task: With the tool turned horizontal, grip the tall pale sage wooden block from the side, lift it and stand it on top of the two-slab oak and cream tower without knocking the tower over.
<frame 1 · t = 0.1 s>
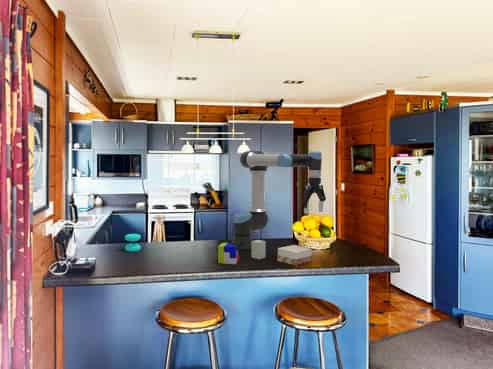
hand: (313, 212, 246), 28 cm above the countertop, tool pointing down, fingers open, 13 cm apart
teal spool: (133, 250, 266), on the countertop
tower top: (294, 255, 241), point 4 cm above the countertop, touching tower base
puzzle toy: (228, 262, 239), on the countertop
tower base: (294, 262, 242), on the countertop, touching tower top
sage block: (258, 257, 250), on the countertop
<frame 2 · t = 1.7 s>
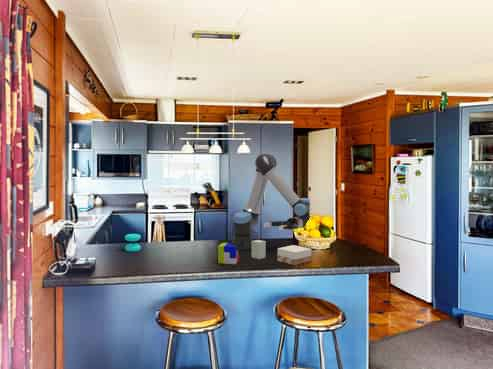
hand: (271, 226, 256), 18 cm above the countertop, tool horizontal, fingers open, 13 cm apart
nothing on the countertop moved.
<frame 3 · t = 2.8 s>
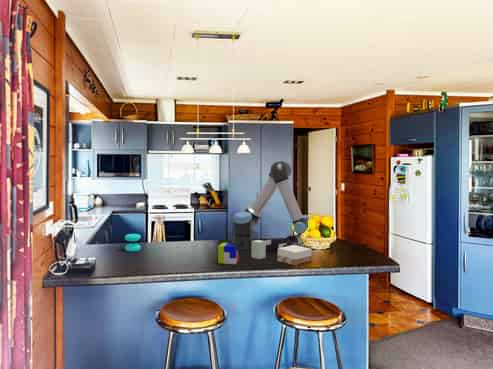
hand: (271, 245, 257), 6 cm above the countertop, tool horizontal, fingers open, 13 cm apart
nothing on the countertop moved.
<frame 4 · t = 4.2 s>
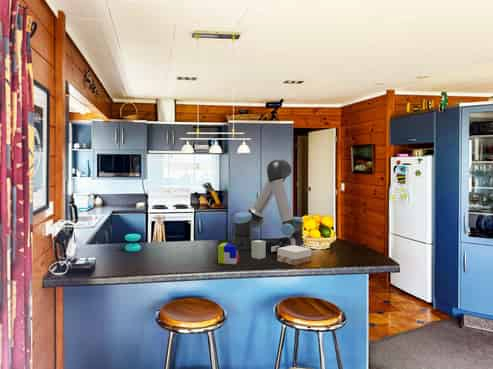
hand: (263, 247, 251), 6 cm above the countertop, tool horizontal, fingers open, 13 cm apart
nothing on the countertop moved.
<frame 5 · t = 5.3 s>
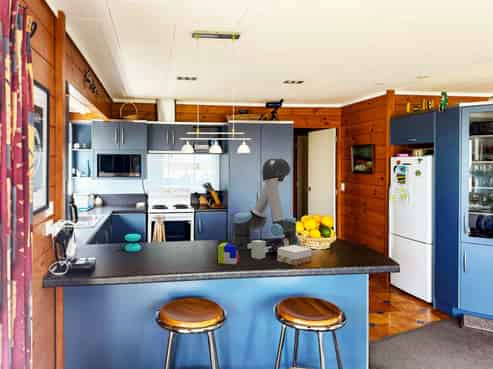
hand: (255, 248, 248), 6 cm above the countertop, tool horizontal, fingers open, 13 cm apart
nothing on the countertop moved.
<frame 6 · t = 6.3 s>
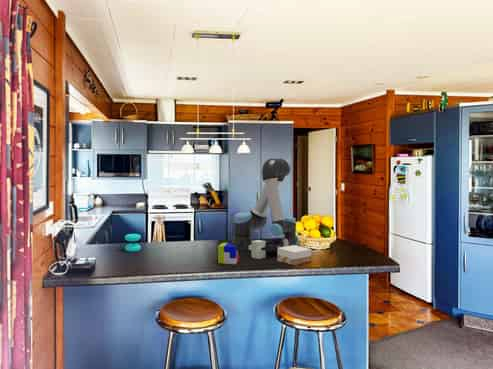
hand: (252, 248, 246), 6 cm above the countertop, tool horizontal, fingers closed on sage block, 6 cm apart
sage block: (258, 257, 250), on the countertop, touching gripper
everything else where it was.
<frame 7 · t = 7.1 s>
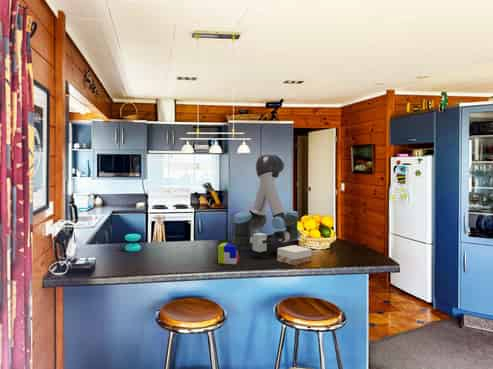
hand: (254, 241, 245), 11 cm above the countertop, tool horizontal, fingers closed on sage block, 6 cm apart
sage block: (259, 250, 249), point 4 cm above the countertop, touching gripper
everything else where it was.
when the fingers open (15 cm above the countertop, at t = 11.2 s): sage block drops 2 cm, point 7 cm above the countertop.
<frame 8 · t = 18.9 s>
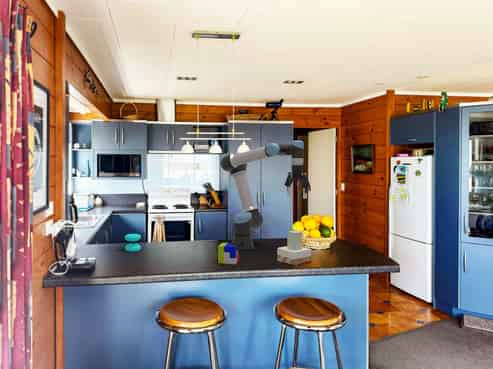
hand: (296, 197, 267), 35 cm above the countertop, tool pointing down, fingers open, 13 cm apart
sage block: (294, 248, 241), point 7 cm above the countertop
everything else where it was.
at the end: sage block inside the target area on the tower top (0.1 cm from its centre), point 4.0 cm above the tower top's base; tower top 0.0 cm off-centre on the tower base, point 4.0 cm above the tower base's base; sage block tilted 0° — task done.
